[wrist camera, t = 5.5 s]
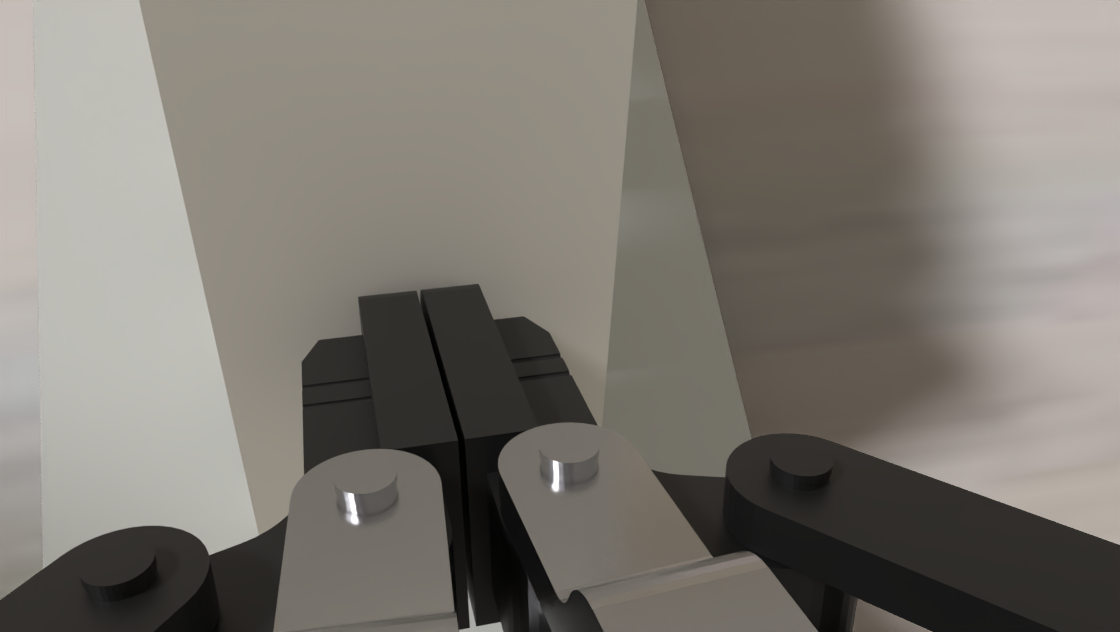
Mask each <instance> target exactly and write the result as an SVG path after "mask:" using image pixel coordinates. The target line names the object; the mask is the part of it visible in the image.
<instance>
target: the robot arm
mask: <svg viewBox="0 0 1120 632" xmlns="http://www.w3.org/2000/svg"><path fill="white" fill-rule="evenodd" d="M358 304H359V314H360V323H361V332H362V335H357V336H348V337H340V338H331V339H322V340H318V342H317V343H316V344H315V345H314V347H313V348H312V349H311V351H310V352H309V353H308V354H307V356H306V357H305V358H304V360H303V361H302V362H301V365H302V406H303V410H302V411H303V456H304V476H303V477H302V478H301V479H300V480H299V481H298V482H297V484H296V486H295V487H294V489H293V491H292V495H291V498H290V506H289V513H288V515H287V516H286V517H285V518H284V519H283V520H281V521H280V522H279V523H278V524H276V525H275V526H274V527H272V528H271V529H269V530H268V531H266V532H264V533H262V534H260V535H258V536H257V537H255V538H253V539H250V540H248V541H245V542H243V543H241V544H238V545H235V546H233V547H230V548H227V549H224V550H222V551H219V552H216V553H214V554H211V555H209V553H208V551H207V549H206V546H205V545H204V544H203V543H202V541H201V540H200V539H199V538H197V537H196V536H194V535H193V534H191V533H189V532H187V531H184V530H182V529H177V528H173V527H167V526H139V527H130V528H126V529H121V530H116V531H113V532H110V533H106V534H103V535H100V536H98V537H95V538H93V539H90V540H88V541H86V542H84V543H82V544H80V545H78V546H76V547H74V548H73V549H71V550H69V551H68V552H66V553H65V554H63V555H62V556H60V557H59V558H58V559H56V560H55V561H53V562H52V563H51V564H49V565H48V566H47V567H45V568H44V569H43V570H41V571H40V572H38V573H37V574H36V575H34V576H33V577H32V578H30V579H29V580H28V581H26V582H25V583H23V584H22V585H21V586H19V587H18V588H17V589H15V590H14V591H13V592H11V593H10V594H8V595H7V596H6V597H4V598H3V599H2V600H0V632H459V630H461V629H467V628H470V620H469V604H468V593H469V598H470V602H471V606H472V610H473V615H474V619H475V623H476V626H482V625H487V624H493V623H498V622H501V625H502V629H503V632H852V629H853V623H854V616H855V610H856V604H857V598H858V599H861V600H863V601H865V602H867V603H870V604H872V605H874V606H876V607H879V608H881V609H883V610H885V611H888V612H890V613H892V614H894V615H897V616H899V617H901V618H903V619H906V620H908V621H910V622H912V623H915V624H917V625H919V626H921V627H923V628H926V629H928V630H930V631H932V632H1120V545H1118V544H1115V543H1112V542H1109V541H1107V540H1104V539H1101V538H1098V537H1095V536H1093V535H1090V534H1087V533H1084V532H1082V531H1079V530H1076V529H1073V528H1070V527H1068V526H1065V525H1062V524H1059V523H1056V522H1054V521H1051V520H1048V519H1045V518H1043V517H1040V516H1037V515H1034V514H1031V513H1029V512H1026V511H1023V510H1020V509H1018V508H1015V507H1012V506H1009V505H1006V504H1004V503H1001V502H998V501H995V500H992V499H990V498H987V497H984V496H981V495H979V494H976V493H973V492H970V491H967V490H965V489H962V488H959V487H956V486H953V485H951V484H948V483H945V482H942V481H940V480H937V479H934V478H931V477H928V476H926V475H923V474H920V473H917V472H915V471H912V470H909V469H906V468H903V467H901V466H898V465H895V464H892V463H889V462H887V461H884V460H881V459H878V458H876V457H873V456H870V455H867V454H864V453H862V452H859V451H856V450H853V449H850V448H848V447H845V446H842V445H839V444H837V443H834V442H831V441H828V440H825V439H821V438H817V437H813V436H808V435H800V434H771V435H765V436H760V437H757V438H754V439H751V440H748V441H746V442H744V443H742V444H741V445H739V446H738V447H737V448H735V449H734V450H733V452H732V453H731V454H730V456H729V458H728V460H727V464H726V473H725V477H711V476H693V475H679V474H669V473H664V472H659V471H655V470H651V469H650V468H649V466H648V465H647V463H646V462H645V461H644V459H643V458H642V456H641V455H640V454H639V452H638V451H637V449H636V448H635V447H634V446H633V445H632V443H631V442H630V441H628V440H627V439H626V438H625V437H623V436H622V435H620V434H618V433H616V432H614V431H612V430H609V429H607V428H604V427H600V426H598V425H597V423H596V421H595V419H594V417H593V415H592V413H591V411H590V410H589V408H588V406H587V404H586V402H585V400H584V398H583V396H582V394H581V392H580V390H579V388H578V386H577V385H576V383H575V381H574V379H573V377H572V375H570V373H569V369H568V367H567V365H566V363H565V361H564V360H563V358H561V356H560V352H559V350H558V348H557V346H556V344H555V342H554V340H553V338H552V336H551V335H550V333H549V332H548V331H546V330H545V329H543V328H542V327H540V326H538V325H537V324H535V323H534V322H532V321H531V320H529V319H527V318H526V317H524V316H521V317H513V318H504V319H495V320H494V319H493V317H492V314H491V312H490V310H489V307H488V305H487V302H486V300H485V298H484V295H483V293H482V290H481V288H480V286H479V284H471V285H461V286H452V287H442V288H433V289H424V290H421V291H420V301H419V297H418V294H417V291H406V292H397V293H388V294H378V295H369V296H359V297H358Z"/></svg>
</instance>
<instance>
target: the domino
mask: <svg viewBox="0 0 1120 632" xmlns="http://www.w3.org/2000/svg"><path fill="white" fill-rule="evenodd" d="M139 3H140V8H141V12H142V17H143V21H144V25H145V30H146V34H147V39H148V43H149V48H150V52H151V57H152V61H153V66H154V70H155V74H156V79H157V83H158V88H159V92H160V97H161V101H162V106H163V110H164V115H165V119H166V123H167V128H168V132H169V137H170V141H171V146H172V150H173V155H174V159H175V163H176V168H177V172H178V177H179V181H180V186H181V190H182V195H183V199H184V204H185V208H186V212H187V217H188V221H189V226H190V230H191V235H192V239H193V244H194V248H195V253H196V257H197V261H198V266H199V270H200V275H201V279H202V284H203V288H204V293H205V297H206V302H207V306H208V310H209V315H210V319H211V324H212V328H213V333H214V337H215V342H216V346H217V350H218V355H219V359H220V364H221V368H222V373H223V377H224V382H225V386H226V391H227V395H228V399H229V404H230V408H231V413H232V417H233V422H234V426H235V431H236V435H237V440H238V444H239V448H240V453H241V457H242V462H243V466H244V471H245V475H246V480H247V484H248V488H249V493H250V497H251V502H252V506H253V511H254V515H255V520H256V524H257V529H258V533H259V535H260V534H262V533H264V532H266V531H268V530H269V529H271V528H272V527H274V526H275V525H276V524H278V523H279V522H280V521H281V520H283V519H284V518H285V517H286V516H287V515H288V513H289V506H290V498H291V495H292V491H293V489H294V487H295V486H296V484H297V482H298V481H299V480H300V479H301V478H302V477H303V476H304V456H303V411H302V410H303V406H302V365H301V362H302V361H303V360H304V358H305V357H306V356H307V354H308V353H309V352H310V351H311V349H312V348H313V347H314V345H315V344H316V343H317V342H318V340H322V339H331V338H340V337H348V336H357V335H362V332H361V323H360V314H359V304H358V297H359V296H369V295H378V294H388V293H397V292H406V291H417V294H418V297H419V301H420V291H421V290H424V289H433V288H442V287H452V286H461V285H471V284H479V286H480V288H481V290H482V293H483V295H484V298H485V300H486V302H487V305H488V307H489V310H490V312H491V314H492V317H493V319H494V320H495V319H504V318H513V317H521V316H524V317H526V318H527V319H529V320H531V321H532V322H534V323H535V324H537V325H538V326H540V327H542V328H543V329H545V330H546V331H548V332H549V333H550V335H551V336H552V338H553V340H554V342H555V344H556V346H557V348H558V350H559V352H560V356H561V358H563V360H564V361H565V363H566V365H567V367H568V369H569V373H570V375H572V377H573V379H574V381H575V383H576V385H577V386H578V388H579V390H580V392H581V394H582V396H583V398H584V400H585V402H586V404H587V406H588V408H589V410H590V411H591V413H592V415H593V417H594V419H595V421H596V423H597V425H598V426H600V427H602V422H603V410H604V398H605V386H606V374H607V362H608V350H609V338H610V326H611V314H612V302H613V290H614V278H615V265H616V253H617V241H618V229H619V217H620V205H621V193H622V181H623V169H624V157H625V145H626V133H627V121H628V109H629V97H630V85H631V73H632V61H633V49H634V37H635V24H636V12H637V0H139Z"/></svg>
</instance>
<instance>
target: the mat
mask: <svg viewBox="0 0 1120 632" xmlns="http://www.w3.org/2000/svg"><path fill="white" fill-rule="evenodd" d="M33 43H34V101H35V158H36V215H37V272H38V329H39V387H40V444H41V501H42V558H43V569H44V568H45V567H47V566H48V565H49V564H51V563H52V562H53V561H55V560H56V559H58V558H59V557H60V556H62V555H63V554H65V553H66V552H68V551H69V550H71V549H73V548H74V547H76V546H78V545H80V544H82V543H84V542H86V541H88V540H90V539H93V538H95V537H98V536H100V535H103V534H106V533H110V532H113V531H116V530H121V529H126V528H130V527H139V526H167V527H173V528H177V529H182V530H184V531H187V532H189V533H191V534H193V535H194V536H196V537H197V538H199V539H200V540H201V541H202V543H203V544H204V545H205V546H206V549H207V551H208V553H209V555H211V554H214V553H216V552H219V551H222V550H224V549H227V548H230V547H233V546H235V545H238V544H241V543H243V542H245V541H248V540H250V539H253V538H255V537H257V536H258V535H259V533H258V529H257V524H256V520H255V515H254V511H253V506H252V502H251V497H250V493H249V488H248V484H247V480H246V475H245V471H244V466H243V462H242V457H241V453H240V448H239V444H238V440H237V435H236V431H235V426H234V422H233V417H232V413H231V408H230V404H229V399H228V395H227V391H226V386H225V382H224V377H223V373H222V368H221V364H220V359H219V355H218V350H217V346H216V342H215V337H214V333H213V328H212V324H211V319H210V315H209V310H208V306H207V302H206V297H205V293H204V288H203V284H202V279H201V275H200V270H199V266H198V261H197V257H196V253H195V248H194V244H193V239H192V235H191V230H190V226H189V221H188V217H187V212H186V208H185V204H184V199H183V195H182V190H181V186H180V181H179V177H178V172H177V168H176V163H175V159H174V155H173V150H172V146H171V141H170V137H169V132H168V128H167V123H166V119H165V115H164V110H163V106H162V101H161V97H160V92H159V88H158V83H157V79H156V74H155V70H154V66H153V61H152V57H151V52H150V48H149V43H148V39H147V34H146V30H145V25H144V21H143V17H142V12H141V8H140V3H139V0H33ZM602 427H604V428H607V429H609V430H612V431H614V432H616V433H618V434H620V435H622V436H623V437H625V438H626V439H627V440H628V441H630V442H631V443H632V445H633V446H634V447H635V448H636V449H637V451H638V452H639V454H640V455H641V456H642V458H643V459H644V461H645V462H646V463H647V465H648V466H649V468H650V469H651V470H655V471H659V472H664V473H669V474H679V475H693V476H711V477H725V473H726V464H727V460H728V458H729V456H730V454H731V453H732V452H733V450H734V449H735V448H737V447H738V446H739V445H741V444H742V443H744V442H746V441H748V440H751V439H752V438H751V434H750V430H749V425H748V421H747V417H746V413H745V409H744V405H743V401H742V397H741V393H740V389H739V385H738V380H737V376H736V372H735V368H734V364H733V360H732V356H731V352H730V348H729V344H728V339H727V335H726V331H725V327H724V323H723V319H722V315H721V311H720V307H719V303H718V299H717V294H716V290H715V286H714V282H713V278H712V274H711V270H710V266H709V262H708V258H707V254H706V249H705V245H704V241H703V237H702V233H701V229H700V225H699V221H698V217H697V213H696V208H695V204H694V200H693V196H692V192H691V188H690V184H689V180H688V176H687V172H686V168H685V163H684V159H683V155H682V151H681V147H680V143H679V139H678V135H677V131H676V127H675V123H674V118H673V114H672V110H671V106H670V102H669V98H668V94H667V90H666V86H665V82H664V78H663V73H662V69H661V65H660V61H659V57H658V53H657V49H656V45H655V41H654V37H653V32H652V28H651V24H650V20H649V16H648V12H647V8H646V4H645V0H637V12H636V24H635V37H634V49H633V61H632V73H631V85H630V97H629V109H628V121H627V133H626V145H625V157H624V169H623V181H622V193H621V205H620V217H619V229H618V241H617V253H616V265H615V278H614V290H613V302H612V314H611V326H610V338H609V350H608V362H607V374H606V386H605V398H604V410H603V422H602ZM468 604H469V620H470V628H467V629H461V630H459V632H503V629H502V625H501V622H498V623H493V624H487V625H482V626H476V623H475V619H474V615H473V610H472V606H471V602H470V598H469V593H468Z"/></svg>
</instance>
